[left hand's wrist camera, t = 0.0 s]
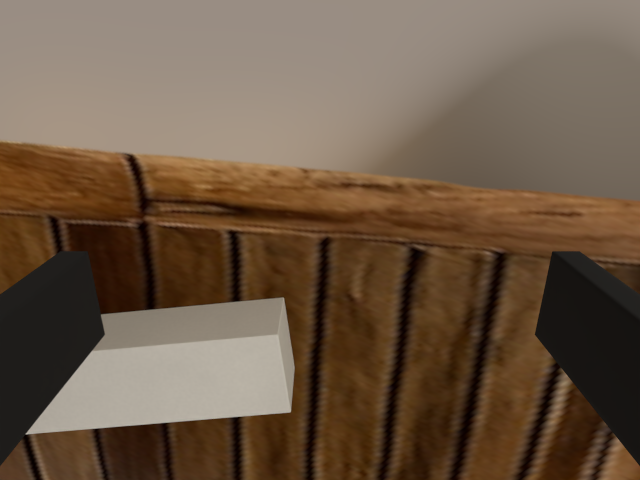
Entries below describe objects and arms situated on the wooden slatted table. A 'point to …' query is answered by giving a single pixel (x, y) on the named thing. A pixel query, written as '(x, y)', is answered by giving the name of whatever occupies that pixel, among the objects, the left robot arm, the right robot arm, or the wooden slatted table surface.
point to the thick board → (180, 368)
